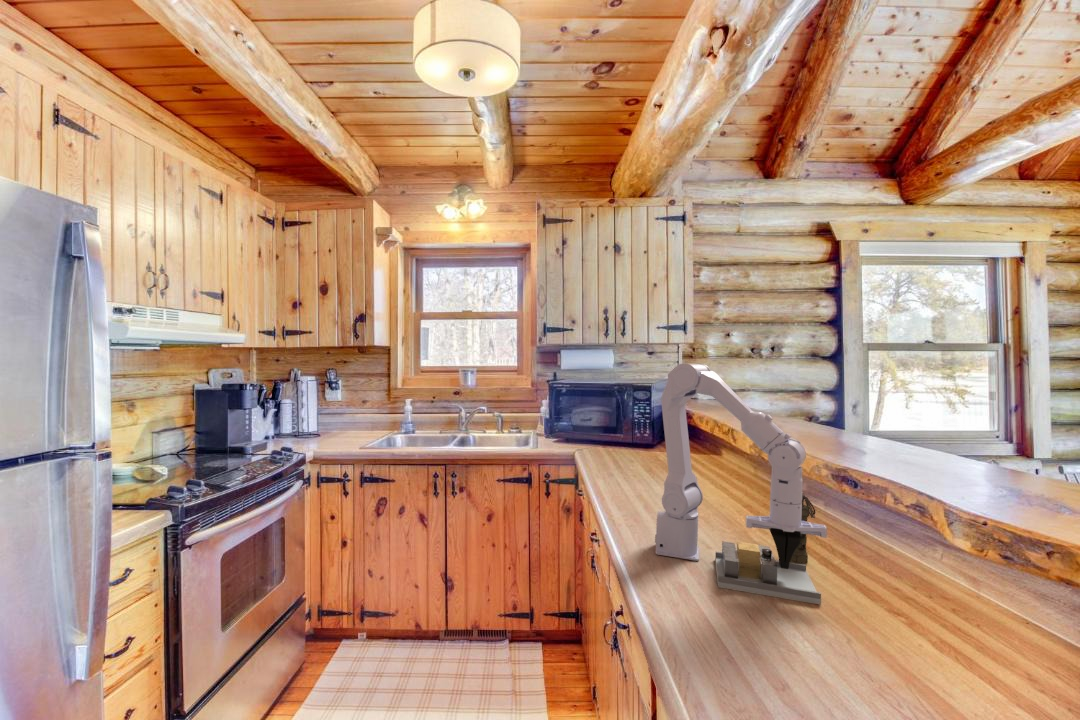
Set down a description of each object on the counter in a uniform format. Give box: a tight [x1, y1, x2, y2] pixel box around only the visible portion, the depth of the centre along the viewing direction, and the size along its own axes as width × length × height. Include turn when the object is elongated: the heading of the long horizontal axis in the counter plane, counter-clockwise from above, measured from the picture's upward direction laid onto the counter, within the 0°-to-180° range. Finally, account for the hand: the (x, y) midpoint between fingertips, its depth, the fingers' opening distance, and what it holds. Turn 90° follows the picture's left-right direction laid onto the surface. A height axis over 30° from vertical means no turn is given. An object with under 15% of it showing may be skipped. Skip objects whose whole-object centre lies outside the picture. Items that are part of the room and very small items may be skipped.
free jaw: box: [757, 544, 778, 585], centre depth 96 cm, size 3×10×5 cm, turn 162°
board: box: [714, 551, 822, 606], centre depth 97 cm, size 18×13×2 cm
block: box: [736, 541, 760, 579], centre depth 97 cm, size 4×4×6 cm
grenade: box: [790, 492, 816, 564], centre depth 108 cm, size 9×6×15 cm, turn 154°
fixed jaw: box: [721, 541, 739, 579], centre depth 99 cm, size 3×10×4 cm, turn 162°
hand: (783, 566), depth 95 cm, fingers closed
